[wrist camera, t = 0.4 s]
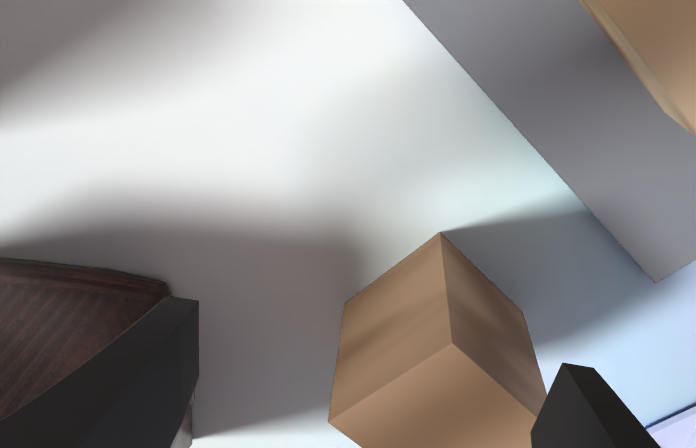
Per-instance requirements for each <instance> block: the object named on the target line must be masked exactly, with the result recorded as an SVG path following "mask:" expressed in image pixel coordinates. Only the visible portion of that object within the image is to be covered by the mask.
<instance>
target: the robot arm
mask: <svg viewBox="0 0 696 448" xmlns="http://www.w3.org/2000/svg"><path fill="white" fill-rule="evenodd" d="M198 376H199V301H196V300H190V299H184V298H178V297H172V296H167V297H166V298H164V299H163V300H161V301H160V302H159V303H158V304H157V305H155V306H154V307H153V308H152V309H151V310H149V311H148V312H147V313H146V314H145V315H143V316H142V317H141V318H140V319H139V320H137V321H136V322H135V323H134V324H133V325H131V326H130V327H129V328H128V329H126V330H125V331H124V332H123V333H121V334H120V335H119V336H118V337H117V338H115V339H114V340H113V341H112V342H110V343H109V344H108V345H106V346H105V347H104V348H102V349H101V350H100V351H99V352H97V353H96V354H95V355H93V356H92V357H91V358H90V359H88V360H87V361H86V362H84V363H83V364H82V365H80V366H79V367H78V368H76V369H75V370H74V371H72V372H71V373H70V374H68V375H67V376H65V377H64V378H62V379H61V380H60V381H58V382H57V383H55V384H54V385H53V386H51V387H50V388H48V389H47V390H45V391H44V392H43V393H41V394H40V395H38V396H37V397H36V398H34V399H33V400H31V401H30V402H28V403H27V404H25V405H24V406H22V407H20V408H19V409H17V410H16V411H14V412H13V413H11V414H10V415H8V416H7V417H5V418H3V419H2V420H0V448H170V447H171V445H172V443H173V441H174V439H175V437H176V435H177V432H178V430H179V428H180V426H181V424H182V421H183V419H184V416H185V413H186V410H187V408H188V405H189V402H190V399H191V396H192V393H193V391H194V388H195V385H196V382H197V379H198ZM530 435H531V445H532V448H696V406H695V407H693V408H690V409H688V410H686V411H684V412H682V413H680V414H678V415H675V416H673V417H671V418H669V419H667V420H665V421H663V422H660V423H658V424H656V425H654V426H652V427H650V428H648V429H645V428H644V427H643V426H642V424H641V423H640V422H639V421H638V420H637V418H636V417H635V416H634V415H633V414H632V412H631V411H630V410H629V409H628V408H627V406H626V405H625V404H624V403H623V402H622V400H621V399H620V398H619V397H618V396H617V394H616V393H615V392H614V391H613V390H612V389H611V387H610V386H609V385H608V384H607V383H606V381H605V380H604V379H603V378H602V377H601V376H600V375H599V373H598V372H597V371H596V370H595V369H594V368H591V367H585V366H579V365H573V364H568V363H562V365H561V367H560V369H559V371H558V373H557V375H556V378H555V380H554V382H553V384H552V386H551V388H550V391H549V393H548V395H547V397H546V399H545V401H544V404H543V406H542V408H541V410H540V412H539V415H538V417H537V419H536V421H535V423H534V425H533V428H532V430H531V432H530Z"/></svg>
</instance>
